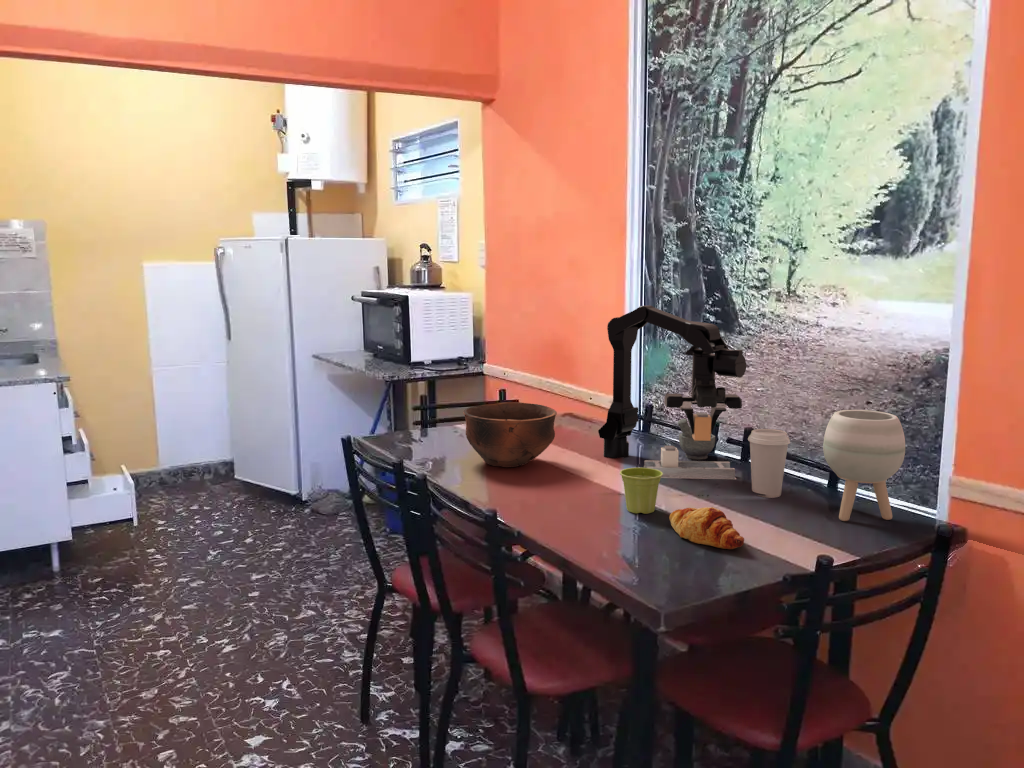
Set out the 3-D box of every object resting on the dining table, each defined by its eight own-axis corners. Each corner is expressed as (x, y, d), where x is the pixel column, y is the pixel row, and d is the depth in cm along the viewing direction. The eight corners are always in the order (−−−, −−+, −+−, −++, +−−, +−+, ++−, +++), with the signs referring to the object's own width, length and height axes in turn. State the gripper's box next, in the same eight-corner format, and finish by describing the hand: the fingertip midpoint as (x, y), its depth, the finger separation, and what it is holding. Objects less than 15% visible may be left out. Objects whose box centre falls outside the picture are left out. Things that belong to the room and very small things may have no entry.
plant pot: (610, 509, 181) (610, 471, 180) (638, 501, 187) (639, 465, 186) (642, 519, 174) (643, 480, 173) (670, 511, 180) (671, 473, 179)
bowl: (498, 480, 205) (498, 421, 203) (447, 461, 225) (446, 407, 223) (574, 466, 220) (574, 411, 217) (519, 449, 239) (519, 398, 237)
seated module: (662, 473, 208) (662, 448, 207) (660, 469, 212) (661, 445, 211) (677, 474, 208) (678, 448, 207) (675, 470, 212) (676, 445, 211)
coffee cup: (792, 492, 194) (795, 431, 192) (780, 502, 187) (784, 438, 184) (752, 486, 200) (755, 426, 197) (739, 495, 192) (742, 433, 190)
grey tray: (647, 480, 205) (648, 469, 204) (643, 468, 217) (643, 458, 216) (736, 482, 203) (736, 471, 203) (727, 470, 215) (727, 459, 215)
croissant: (659, 541, 171) (645, 511, 168) (692, 513, 175) (679, 483, 172) (731, 572, 153) (717, 539, 150) (766, 540, 156) (753, 507, 154)
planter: (829, 526, 169) (835, 421, 166) (811, 503, 185) (817, 407, 182) (911, 529, 167) (919, 423, 164) (886, 506, 183) (893, 409, 180)
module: (694, 440, 206) (695, 414, 206) (692, 437, 210) (693, 412, 209) (710, 440, 206) (711, 415, 205) (707, 437, 210) (708, 412, 209)
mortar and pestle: (700, 454, 233) (702, 413, 231) (721, 461, 224) (722, 419, 223) (667, 458, 229) (668, 416, 227) (687, 465, 220) (688, 422, 218)
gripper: (670, 377, 199) (668, 440, 201) (748, 378, 197) (745, 441, 200) (665, 371, 210) (663, 431, 212) (738, 372, 208) (735, 432, 211)
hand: (701, 434), depth 208 cm, fingers closed on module, 4 cm apart
